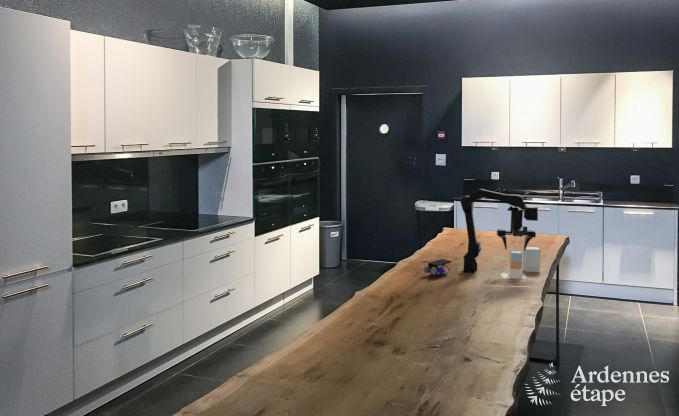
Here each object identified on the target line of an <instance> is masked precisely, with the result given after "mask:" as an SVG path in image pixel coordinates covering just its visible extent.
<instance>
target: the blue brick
mask: <svg viewBox="0 0 679 416" xmlns="http://www.w3.org/2000/svg"><path fill="white" fill-rule="evenodd" d="M510 259H511V261H522V262H523V252H522V251H519V250H517V251H516V250H510Z"/></svg>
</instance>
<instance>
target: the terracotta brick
mask: <svg viewBox="0 0 679 416" xmlns="http://www.w3.org/2000/svg"><path fill="white" fill-rule="evenodd" d="M509 266H510V267H511V269H522V267H523V260H522V261H511V259H510V262H509Z"/></svg>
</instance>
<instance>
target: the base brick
mask: <svg viewBox="0 0 679 416" xmlns="http://www.w3.org/2000/svg"><path fill="white" fill-rule="evenodd" d="M508 274H509V276H510V277H523V274H524V270H523V269H511V267H510V265H509V266H508Z"/></svg>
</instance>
